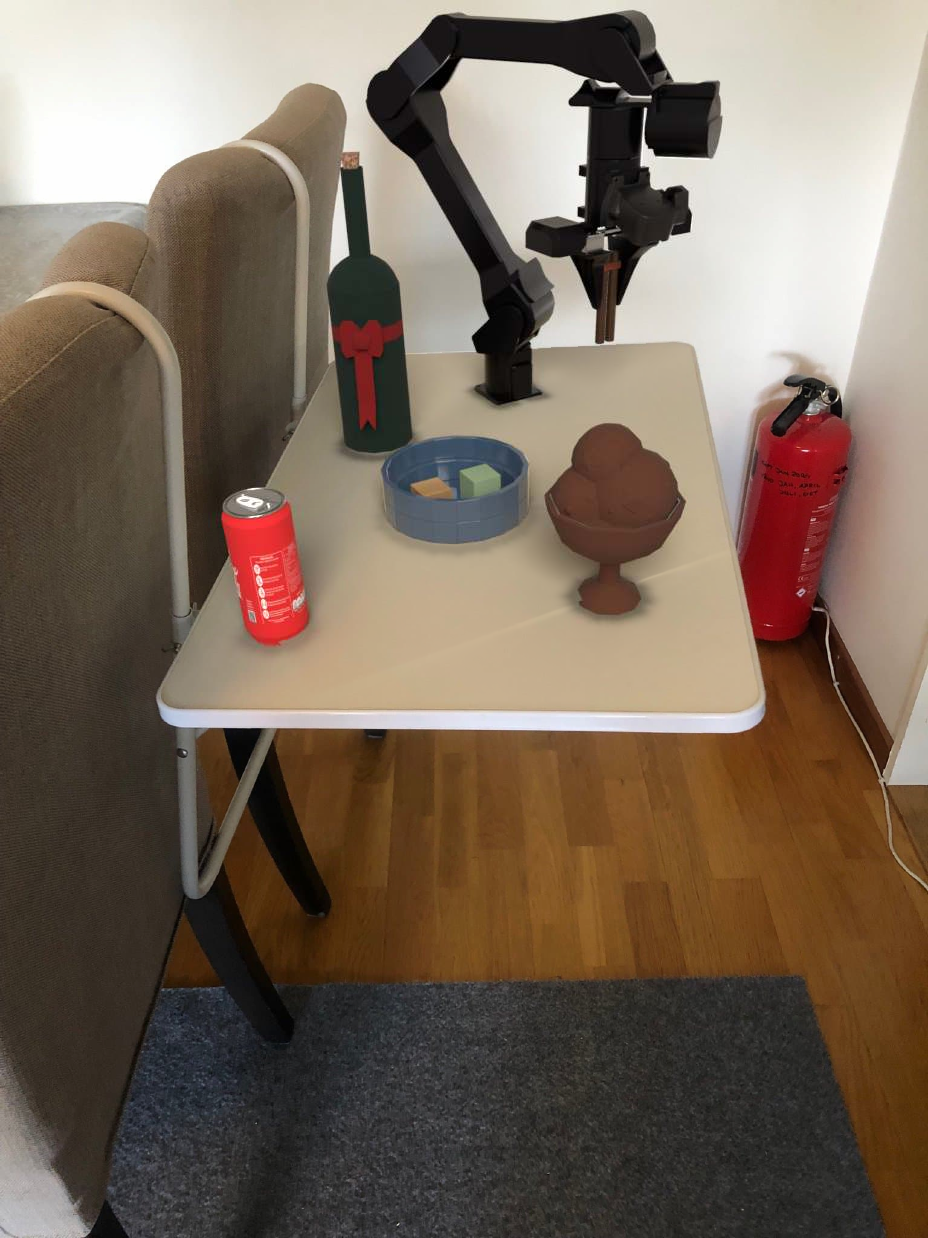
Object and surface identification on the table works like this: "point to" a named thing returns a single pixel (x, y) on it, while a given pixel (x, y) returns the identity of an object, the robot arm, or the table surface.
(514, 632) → the table surface
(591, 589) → the ice cream bowl
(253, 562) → the beverage can
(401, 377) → the wine bottle
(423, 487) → the beech block
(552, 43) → the robot arm
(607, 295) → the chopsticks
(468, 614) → the table surface
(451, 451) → the bowl
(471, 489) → the sage block
